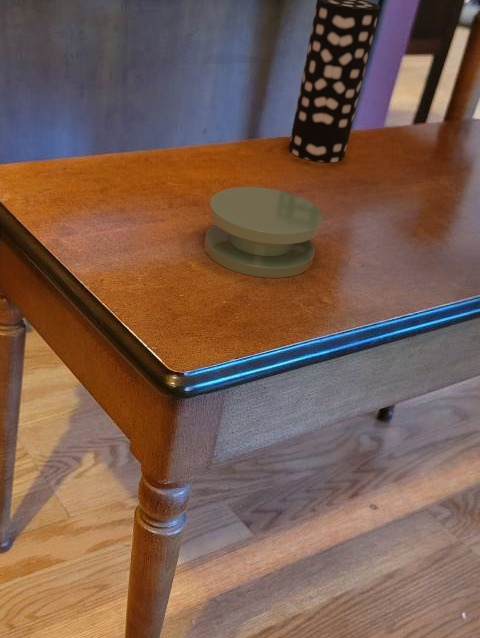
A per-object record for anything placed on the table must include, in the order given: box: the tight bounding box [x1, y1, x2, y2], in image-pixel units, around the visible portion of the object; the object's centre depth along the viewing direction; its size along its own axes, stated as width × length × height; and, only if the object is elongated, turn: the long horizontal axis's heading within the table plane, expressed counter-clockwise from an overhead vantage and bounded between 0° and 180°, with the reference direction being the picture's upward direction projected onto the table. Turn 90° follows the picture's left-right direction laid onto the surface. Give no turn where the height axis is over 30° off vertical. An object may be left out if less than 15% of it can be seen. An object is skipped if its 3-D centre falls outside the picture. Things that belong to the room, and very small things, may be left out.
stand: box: [203, 186, 324, 279], centre depth 80 cm, size 12×12×5 cm
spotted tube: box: [288, 0, 381, 163], centre depth 104 cm, size 8×8×20 cm
